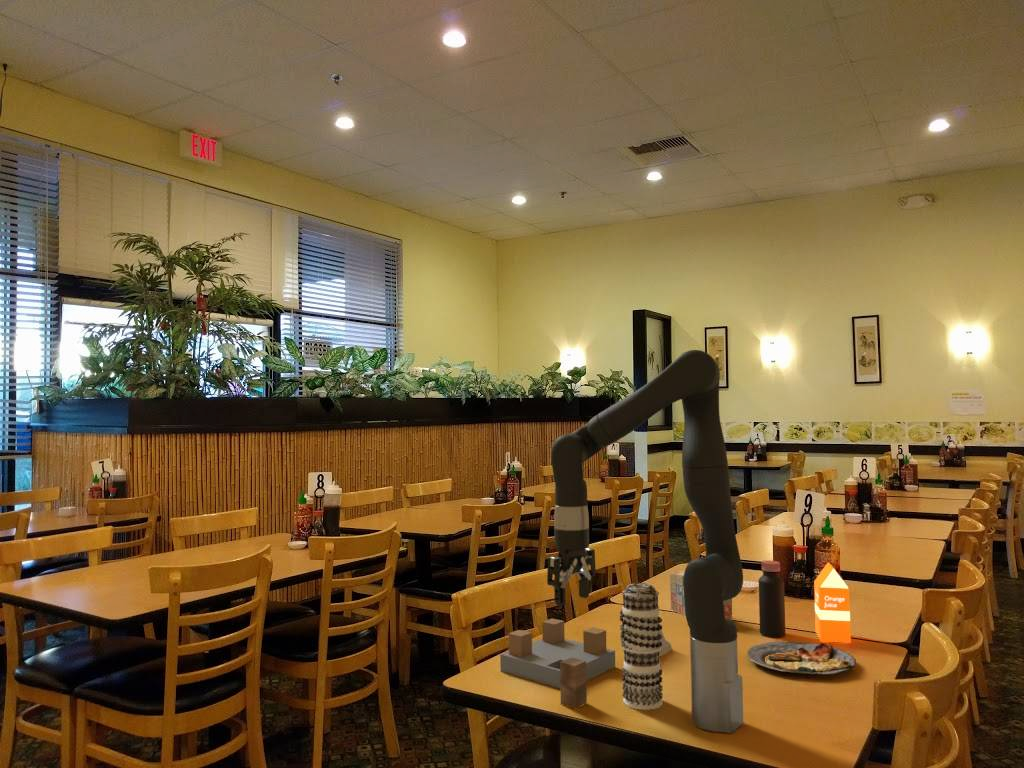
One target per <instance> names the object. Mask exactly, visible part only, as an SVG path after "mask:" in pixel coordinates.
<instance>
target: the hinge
mask: <svg viewBox="0 0 1024 768" xmlns="http://www.w3.org/2000/svg"><path fill="white" fill-rule="evenodd" d="M658 624H660V623H658ZM662 630H663V629H661V630H660V631H658V633H659V634H660V635H661V636H662V638H661V639H660V640H658V641H660V642H661V643H662V646H661V650H660V651H659V658H661V657H662V656H664V655H665V653H666V652H667V653H669V652H670V651H672V650H673V648H672V644H671V642H670V641H668V640H667V639H666V637H665V636H664V634H663V631H662ZM624 636H625V634H624ZM619 637H620V641H621V644H622V641H623V638H622V637H621V633H620V635H619ZM671 649H672V650H671ZM622 651H623V652H624V649H623V648H622ZM668 651H669V652H668ZM667 653H666V654H667ZM663 654H664V655H663ZM660 656H661V657H660Z"/></svg>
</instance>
